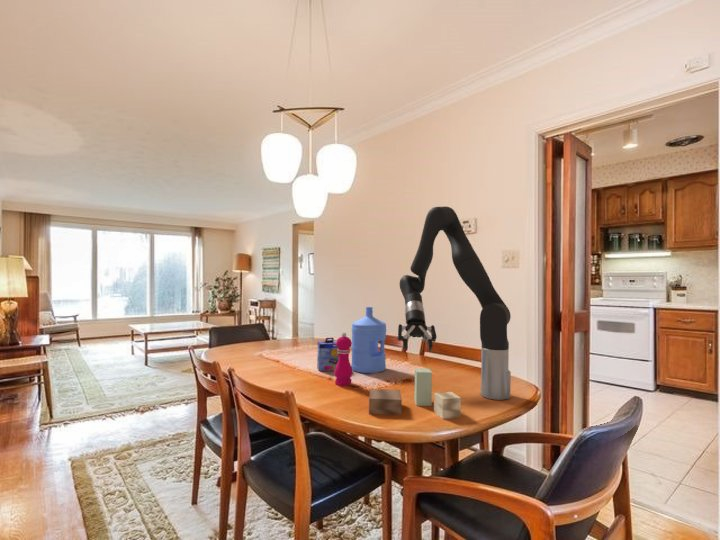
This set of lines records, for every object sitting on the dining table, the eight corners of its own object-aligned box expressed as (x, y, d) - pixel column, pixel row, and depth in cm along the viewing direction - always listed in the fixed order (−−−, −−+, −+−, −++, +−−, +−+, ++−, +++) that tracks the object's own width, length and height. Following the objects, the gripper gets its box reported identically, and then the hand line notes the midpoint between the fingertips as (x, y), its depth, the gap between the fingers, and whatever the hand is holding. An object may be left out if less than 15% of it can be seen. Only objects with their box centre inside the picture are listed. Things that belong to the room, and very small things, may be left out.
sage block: (429, 400, 131) (429, 368, 131) (431, 405, 126) (431, 372, 126) (414, 400, 131) (414, 368, 131) (416, 405, 126) (416, 372, 126)
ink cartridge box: (318, 371, 168) (319, 338, 168) (316, 368, 173) (316, 336, 174) (340, 370, 171) (341, 337, 171) (337, 367, 176) (338, 335, 176)
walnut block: (399, 404, 128) (400, 389, 128) (401, 416, 118) (401, 399, 118) (369, 403, 128) (370, 388, 128) (368, 414, 118) (369, 398, 118)
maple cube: (451, 410, 122) (451, 391, 122) (460, 417, 116) (460, 397, 117) (433, 412, 121) (434, 393, 121) (442, 419, 115) (442, 399, 115)
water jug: (346, 371, 168) (347, 308, 168) (357, 364, 183) (358, 305, 183) (380, 375, 163) (381, 309, 163) (389, 367, 178) (390, 306, 178)
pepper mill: (336, 386, 146) (337, 334, 146) (332, 381, 153) (333, 331, 153) (354, 385, 148) (355, 333, 148) (350, 380, 155) (350, 331, 155)
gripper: (397, 308, 149) (399, 343, 138) (434, 309, 149) (439, 344, 138) (396, 320, 155) (398, 354, 143) (431, 321, 155) (436, 355, 143)
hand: (418, 349), depth 141 cm, fingers open, 8 cm apart
